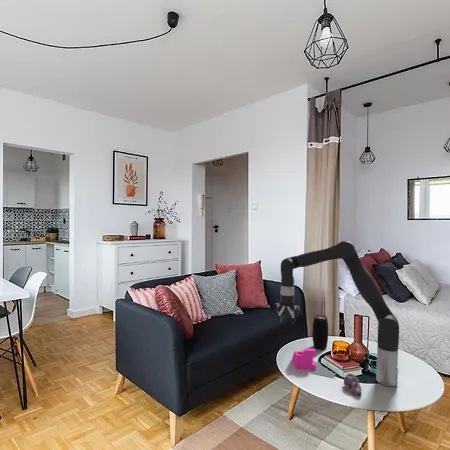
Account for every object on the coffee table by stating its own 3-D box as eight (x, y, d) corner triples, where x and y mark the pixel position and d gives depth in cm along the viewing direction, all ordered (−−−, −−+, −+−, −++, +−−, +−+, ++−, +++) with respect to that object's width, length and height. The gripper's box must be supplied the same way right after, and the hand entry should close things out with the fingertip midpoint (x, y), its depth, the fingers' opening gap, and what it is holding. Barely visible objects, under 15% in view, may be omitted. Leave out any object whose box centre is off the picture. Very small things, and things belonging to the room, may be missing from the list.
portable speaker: (310, 345, 203) (310, 314, 202) (323, 344, 204) (324, 314, 204) (316, 350, 194) (316, 319, 194) (330, 349, 196) (331, 318, 196)
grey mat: (336, 366, 175) (336, 366, 175) (334, 378, 162) (334, 377, 162) (314, 362, 179) (314, 361, 179) (310, 373, 167) (310, 372, 167)
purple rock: (365, 398, 144) (366, 385, 144) (347, 397, 145) (348, 384, 145) (358, 384, 156) (358, 372, 156) (341, 383, 157) (342, 371, 157)
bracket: (315, 369, 170) (315, 350, 170) (296, 369, 170) (296, 350, 170) (310, 359, 182) (310, 341, 182) (292, 359, 182) (292, 341, 182)
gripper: (301, 293, 179) (300, 323, 180) (276, 290, 185) (275, 319, 186) (298, 296, 173) (297, 327, 173) (272, 293, 178) (272, 323, 179)
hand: (286, 322), depth 179 cm, fingers open, 6 cm apart
